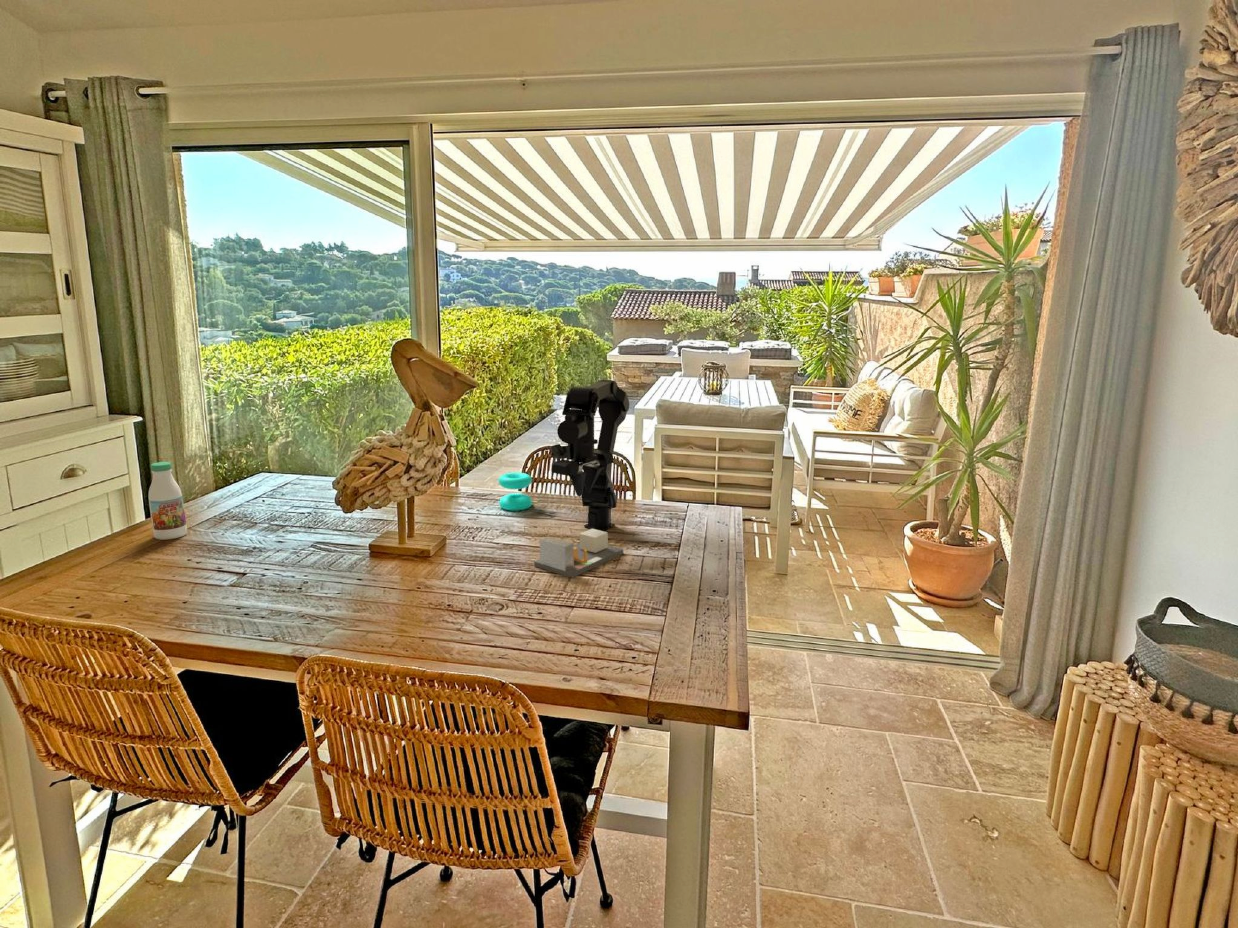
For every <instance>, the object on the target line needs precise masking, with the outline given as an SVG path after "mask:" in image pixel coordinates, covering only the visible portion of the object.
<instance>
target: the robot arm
mask: <svg viewBox="0 0 1238 928" xmlns="http://www.w3.org/2000/svg"><path fill="white" fill-rule="evenodd" d="M563 405H564V406H563V409H562V416H564V420H562V421H561V422H560V423H559V425H558V427H557V429H556V430H557V431H556V432H557V436H558V439H559V440H561V441H562V442H563V443H565V444H566V445H564V446H562V445H561V444H560V443H558V444H554V445H552V446H551V447H550V455H551V457H552V458H553V459H554V458H556V459H555V460H556V461H553V462H552V463H551V473H553V474H557V475H563V476H567V477H569V479H570V480H571V484H572V486H573V489H574V491H575V494H576V496H577V497H581V503H582V507H588V510H587V511H588V512H587V523H586V524H584V525H583V527H584V528H587V529H589V530H590V529H596V530H600V531H604V532H605V531H606V530H608V529H611V528H613V527H615V526H616V523H612V522H611V521H612V516H611V515H612V513H611V512H612V509H616V508H617V503H618V501H617V500H618V497H617V494H616V492H615V490H614V483H613V481H612V478H611V475H610V474H611V473H610V472H611V467H612V464H613V463H614V450H615V447H616V446H615V445H616V440H617V436H618V429H619V426H620V425H621V424H622V423H623V422H624V421H625V420H626V417H627V413H628V412H629V411H630V399H629V398H628V395H627V392H625V390H624V389H622V388H621V387H620V386H618V383H617V381H614V379H613V380H611V379H600V380H597V382H595V383H592V384H591V385H588V386H585V387H584V386H572V387H570V388H569V391H567V393H566V397H565V401H564V404H563ZM596 413H598V414H599V417H600V419H601V426H600V430H599V431H600V432H599V437H598V439H595V416H596ZM595 445H597V447H596V450H595Z"/></svg>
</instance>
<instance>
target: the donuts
mask: <svg viewBox="0 0 1238 928" xmlns="http://www.w3.org/2000/svg"><path fill="white" fill-rule="evenodd" d="M532 481H533V480H532V477H531V475H529V473H528V474H527V473H526V472H508V473H505V474H502V475H500V476H499V478H498V484H499V485H500V486H501V487H503V488H504V489H507V490H521V489H524V488H527V487H529V486H530V485H531V483H532ZM498 504H499V507H500V508H501V509H503V510H505V511H511V512H512V511H524V510H526V509H529V508H530V507H532V505H533V499H532V497H530V496H529V495H527V494H524V493H518V492H517V493H508V494H506V495H503V496H502V497H501V498H500V499H499V502H498Z"/></svg>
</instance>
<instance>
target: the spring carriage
mask: <svg viewBox="0 0 1238 928" xmlns="http://www.w3.org/2000/svg"><path fill="white" fill-rule="evenodd" d="M579 542H580V549H583V550H585V549H586V550H587V551H590V552H594V553H596V552H598V551H601V550H603V549H605V548H607V547H608V545H609V543H608V542H609V541H608V532H607V531H605V530H604V531H600V530H596V529H590V528H589V529H588V530H586V531H583V532H581V533H579Z"/></svg>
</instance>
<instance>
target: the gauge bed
mask: <svg viewBox="0 0 1238 928" xmlns="http://www.w3.org/2000/svg"><path fill="white" fill-rule="evenodd" d="M574 547H576V548H578V558H580V559H583V560H584V551H583V549H580V541H579V542H578V543H575V544H574V543H573V542H569V541H567V540H563V539H559V538H555V537H552V536H546V537H544V538H541V539H539V559H537V560H534V561H533V565H534V567H536V568H539V569H542V570H545V571H548V572H551V573H556V574H558V575H561V576H565V577H567V578H571V579H572V578H575V577H577V576H579V575H581V574H584V573H585V572H588V571H591V570H593V569H594V568H596V567H598V566H601V565H602V564H605V563H607V562H608V561H611V560H613V559H615V558H617V557H619V556H622V555H623V554H624V549H623V548H620V547H617V546H612V545H609V544H608V547H607V548H605V549H603V550H601V551H598V552H596V553H594V552H590V551H587V563H586V564H585V563H582V562H578V561H574Z"/></svg>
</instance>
